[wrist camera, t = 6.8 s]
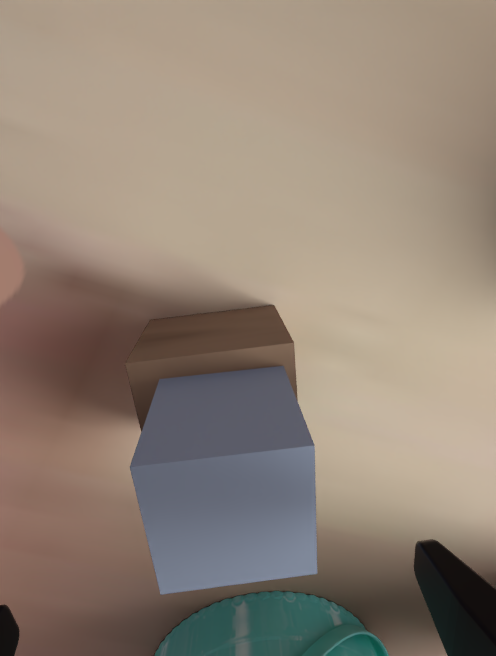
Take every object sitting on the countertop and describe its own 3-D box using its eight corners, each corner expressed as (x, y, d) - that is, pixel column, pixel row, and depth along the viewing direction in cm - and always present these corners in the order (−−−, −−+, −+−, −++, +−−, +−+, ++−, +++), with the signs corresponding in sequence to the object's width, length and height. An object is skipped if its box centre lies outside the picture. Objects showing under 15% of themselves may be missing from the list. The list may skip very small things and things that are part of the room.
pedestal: (282, 409, 19) (302, 476, 15) (172, 424, 19) (157, 495, 15) (273, 304, 17) (293, 342, 13) (150, 319, 17) (124, 363, 12)
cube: (288, 465, 15) (317, 573, 10) (178, 478, 14) (160, 594, 10) (283, 365, 13) (314, 445, 9) (159, 378, 13) (129, 466, 9)
